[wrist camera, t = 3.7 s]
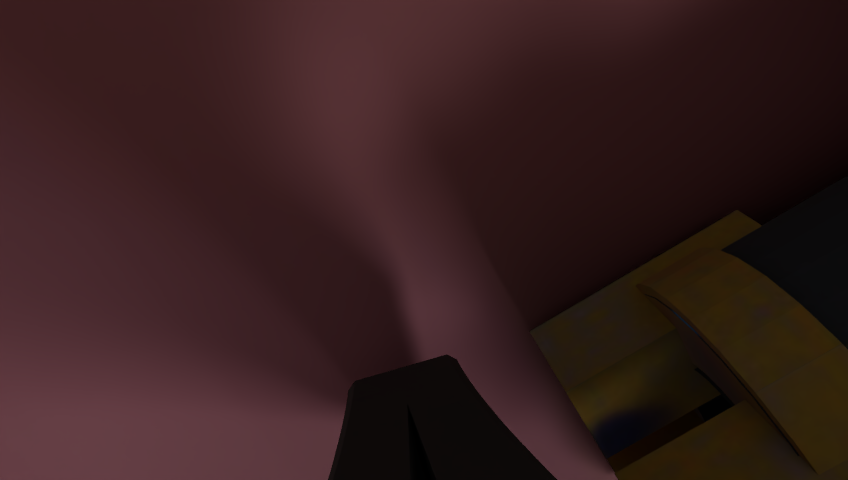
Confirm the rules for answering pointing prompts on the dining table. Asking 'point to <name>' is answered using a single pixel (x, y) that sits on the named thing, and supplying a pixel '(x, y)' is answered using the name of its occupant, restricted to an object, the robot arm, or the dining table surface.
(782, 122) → the dining table surface
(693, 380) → the pipe connector
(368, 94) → the dining table surface
